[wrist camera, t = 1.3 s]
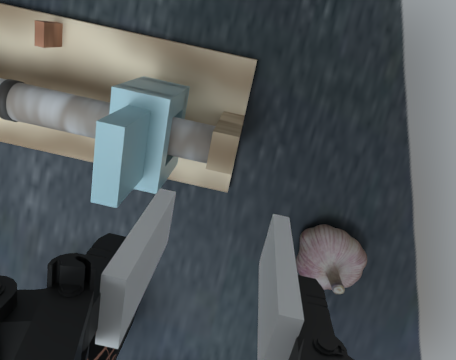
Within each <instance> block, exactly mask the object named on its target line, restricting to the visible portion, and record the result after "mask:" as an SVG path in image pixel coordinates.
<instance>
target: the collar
mask: <svg viewBox="0 0 456 360" xmlns="http://www.w3.org/2000/svg"><path fill="white" fill-rule="evenodd" d="M189 89H190V86H185V85H181V84H176V83H172V82H167V81H163V80H158V79H154V78H149V77H145V76H143V77H139V78H136V79H133V80H130V81H127V82H124V83H121V84H118V85H115V86H112V87H111V99H110V111H109V115H107V116H105V117H103V118H101V119H99V120H97V121H96V135H95V149H94V163H93V177H92V191H91V202H92V203H97V204H101V205H106V206H110V207H115V208H117V207H118V206H119V205H120V204H121V203H122V201H123V200H124V199H125V198H126V197H127V196H128V194H129V193H130V192H131V191H132V190H133V189H136V190H140V191H145V192H149V193H153V194H156V193H157V192H158V190H159V189H160V188H161V187H162V186H163V184H164V183H165V181H166V180H167V178H168V177H169V175H170V174H171V173H172V171H173V170H174V168H175V167H176V165H177V163H178V157H175V156H171V155H167V152H168V145H169V138H170V132H171V125H172V118H173V117H177V118H181V119H185V114H186V108H187V102H188V96H189Z"/></svg>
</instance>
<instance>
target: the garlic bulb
mask: <svg viewBox="0 0 456 360" xmlns="http://www.w3.org/2000/svg"><path fill="white" fill-rule="evenodd" d="M366 264H367V255H366V253H365V251H364V250H363V249H362V247H361V245H360V243H359V242H358V241H357V240H356V239H354V238H352V237H350V235H349V234H348V233H347V232H346V231H344V230H342V229H338V228H334V227H332V226H330V225H327V224H322V225H318V226H315V227H314V228H308V229H306V230H304V231H303V232H302V233H301V235H300V248H299V253H298V255H297V257H296V267H297V271H298V273H299V274H300V276H305V277H309V278H314V279H316V280H317V281H318V282H319V284H320V285H321V286H322V288H323V289H324V290H326V289H330V290H332V291H333V292H334V293H336V294H342V293H344V291H345V289H344V288H346V287H350V286H352V285H353V284H354V283H355V282H357V281H358V280H359V279H360V277H361V275H362V271H363V269H364V267H365V266H366Z"/></svg>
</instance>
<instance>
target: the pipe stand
mask: <svg viewBox="0 0 456 360" xmlns="http://www.w3.org/2000/svg"><path fill="white" fill-rule="evenodd" d="M256 63H257V59H252V58H248V57H243V56H239V55H234V54H230V53H225V52H221V51H216V50H212V49H207V48H202V47H198V46H193V45H189V44H184V43H180V42H175V41H171V40H166V39H162V38H157V37H153V36H148V35H144V34H139V33H135V32H130V31H126V30H121V29H117V28H112V27H108V26H103V25H99V24H94V23H90V22H85V21H81V20H76V19H72V18H67V17H63V16H58V15H54V14H49V13H45V12H40V11H36V10H31V9H27V8H22V7H17V6H13V5H8V4H4V3H0V142H5V143H9V144H14V145H18V146H23V147H27V148H32V149H36V150H40V151H45V152H49V153H54V154H58V155H63V156H67V157H72V158H76V159H81V160H85V161H89V162H94V149H95V135H96V121H97V120H99V119H101V118H103V117H105V116H107V115H109V111H110V99H111V87H112V86H115V85H118V84H121V83H124V82H127V81H130V80H133V79H136V78H139V77H143V76H145V77H149V78H154V79H158V80H163V81H167V82H172V83H176V84H181V85H185V86H190V89H189V96H188V102H187V108H186V114H185V119H181V118H177V117H173V118H172V125H171V132H170V138H169V145H168V152H167V155H171V156H175V157H178V163H177V165H176V167H175V168H174V170H173V171H172V173H171V174H170V175H169V177H168V178H167V179H170V180H174V181H178V182H183V183H187V184H192V185H196V186H201V187H205V188H210V189H214V190H218V191H223V192H227V193H228V188H229V184H230V179H231V175H232V170H233V166H234V162H235V157H236V153H237V148H238V144H239V139H240V135H241V130H242V126H243V121H244V117H245V112H246V108H247V103H248V99H249V94H250V90H251V86H252V81H253V77H254V72H255V68H256Z"/></svg>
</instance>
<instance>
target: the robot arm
mask: <svg viewBox="0 0 456 360" xmlns="http://www.w3.org/2000/svg"><path fill="white" fill-rule="evenodd" d="M175 196H176V192H174V191H170V190H165V189H161V188H160V189H159V190H158V192H157V193H156V195H155V196H154V198H153V199H152V201H151V202H150V204H149V205H148V206H147V208H146V209H145V211H144V212H143V214H142V215H141V217H140V218H139V220H138V221H137V223H136V224H135V225H134V227H133V228H132V230H131V231H130V233H129V234H128V236H127V237H124V236H119V235H115V234H111V233H108V234H107V235H105V236H103V237H101V238H99V239H98V240H97V241H96V242H95V243H94V245H93V246H92V248H90V250H89V251H88V252H87V254H86V255H83V254H78V253H71V254H64V255H60V256H58V257H56V258H54V259H52V260H51V261H50V263H49V264H48V274H47V288H45V289H38V290H17V283H16V282H15V281H14V280H13V279H11V278H9V277H7V276H0V360H87V358H88V354H89V343H90V342H91V340H92V338H93V336H94V335H95V333H96V337H95V344H97V345H102V346H106V347H110V348H115V349H118V348H119V346H120V344H121V342H122V340H123V338H124V335H125V333H126V331H127V329H128V327H129V325H130V323H131V320H132V318H133V316H134V314H135V312H136V310H137V307H138V305H139V303H140V301H141V299H142V297H143V295H144V292H145V290H146V288H147V286H148V284H149V282H150V280H151V277H152V275H153V273H154V271H155V269H156V267H157V264H158V262H159V260H160V258H161V256H162V254H163V252H164V249H165V247H166V245H167V243H168V238H169V232H170V226H171V220H172V214H173V208H174V202H175ZM325 299H326V298H325V294H324V289H323V288H322V286H321V285H320V284H319V282H318V281H317V280H316V279H314V278H309V277H305V276H300V275H298V274H297V267H296V260H295V253H294V246H293V240H292V233H291V226H290V219H289V217H285V216H281V215H276V214H273V215H272V219H271V223H270V226H269V230H268V233H267V237H266V240H265V244H264V247H263V251H262V255H261V258H260V262H259V297H258V354H257V360H354V359H352V358H351V357H349V356H348V355H347V350H346V348H345V346H344V345H343V343H342V342H341V341H340V340H339V339H338V338H336V337H335V335H334V331H333V327H332V323H331V319H330V314H329V310H328V308H327V307H328V306H327V302H326V300H325Z"/></svg>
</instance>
